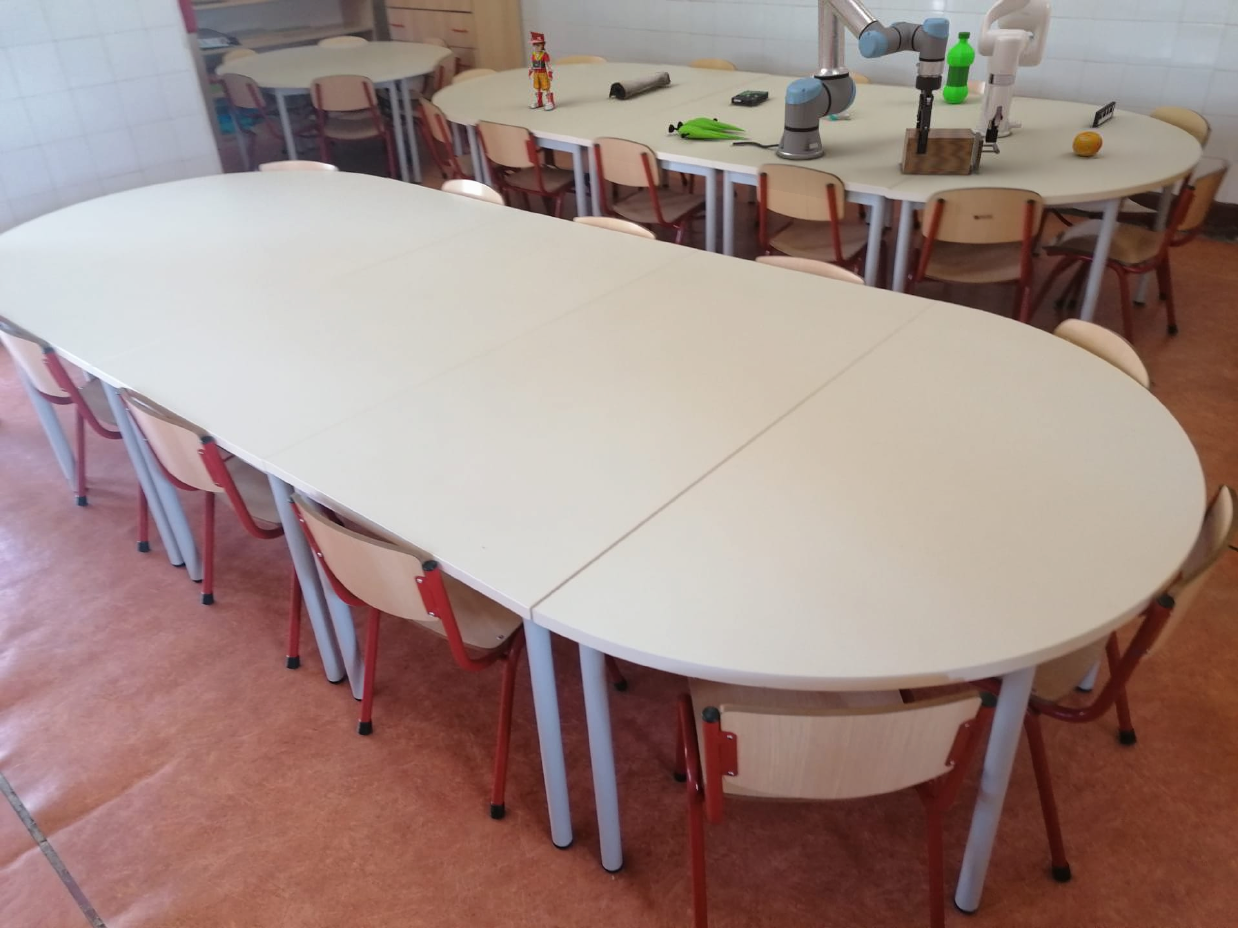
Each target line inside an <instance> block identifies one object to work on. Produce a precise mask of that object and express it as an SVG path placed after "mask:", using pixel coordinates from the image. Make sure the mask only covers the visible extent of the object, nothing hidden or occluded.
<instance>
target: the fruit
mask: <svg viewBox="0 0 1238 928" xmlns="http://www.w3.org/2000/svg"><path fill="white" fill-rule="evenodd" d="M1102 146H1103V138H1102V136H1101V135H1100V134H1099V133H1098V132H1095V131H1084V132H1080V133H1079V134H1077V135H1076V136H1075V137H1074V138H1073V141H1072V151H1073V153H1075V154H1076V155H1078V156H1081V157H1090V156H1094V155H1096V154H1097V153H1099V151H1101V148H1102Z"/></svg>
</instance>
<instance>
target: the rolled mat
mask: <svg viewBox="0 0 1238 928" xmlns="http://www.w3.org/2000/svg"><path fill="white" fill-rule="evenodd" d="M671 83H672V81H671V77H670V74H669V72H668V71H658V72H654V73H649V74H645V75H640V76H637V77H633V78H628V79H623V80H620V81H616V82H613V83H612V84H611V85H610V89H609V95H608V97H609V98H611V97H616V99H620V100H622V101H623V100H626V99H627V98H629V97H630V96H632V95H635V94H636V93H638V92H640V91H643V90H644V89H647V88H650V87H655V86H658V87H659V86H661V87H665V86H669V85H670V84H671Z"/></svg>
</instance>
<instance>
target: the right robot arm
mask: <svg viewBox="0 0 1238 928" xmlns="http://www.w3.org/2000/svg"><path fill="white" fill-rule="evenodd" d="M1051 16H1052V4H1051V2H1050V1H1049V0H997V1H996V2H995V3H994V4H992V6H990V8H989V9H988V10H987V11H986V13H985V14H984V16H983V18H982V20H981V24H980V29H979V35H978V40H977V52H978V54H979V55H980V56H982V57H987V64H986V65H987V67H986V76H985V81H984V88H983V96H982V100H981V106H980V110H979V111H980V112H979V117H978V123H977V126H974V127H973V128H972V130H971V131H972V133H973V135H976V132H980V133H981V136H982V137H983V138H984V137H985V138H984V143H985V144H993V143H996V144H997V142H998V138H1002V137H1007V136H1009V135H1010V134H1011V130H1012V129H1021V128H1022V123H1023V122H1022V121H1021V122H1020V121H1019V122H1017V121H1015V120H1013V121H1010V119H1009V117H1010V110H1011V106H1012V100H1013V95H1014V91H1015V90H1014V89H1015V85H1016V84H1015V83H1016V78H1017V72H1018V67H1020V68H1022V67H1025V68H1027V67H1029V68H1031V67H1036V66H1038V65H1040V63H1041V62H1042V60H1043V57H1044V54H1045V48H1046V44H1047V38H1048V33H1049V28H1050V23H1051ZM996 21H997V27H998V28H991V26H992V24H994V23H995V22H996ZM1028 32H1030V33H1031V34H1032V35H1029V33H1028Z"/></svg>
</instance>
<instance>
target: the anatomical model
mask: <svg viewBox="0 0 1238 928" xmlns="http://www.w3.org/2000/svg"><path fill="white" fill-rule="evenodd" d="M828 117H829V119H831V120H832V121H835V120H838V119H848V118H850V117H851V114H850V113H845V111H843V112H841V113H838V114H833V115H829V116H828Z"/></svg>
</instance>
